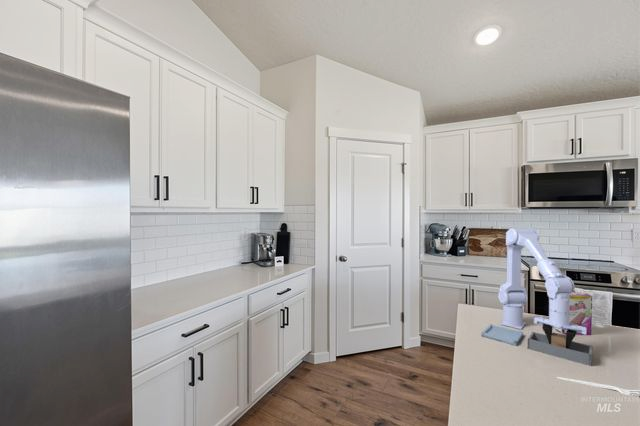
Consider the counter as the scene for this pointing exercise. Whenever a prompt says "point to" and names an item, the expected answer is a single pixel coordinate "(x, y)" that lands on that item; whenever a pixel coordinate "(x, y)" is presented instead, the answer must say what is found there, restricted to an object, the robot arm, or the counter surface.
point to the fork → (603, 386)
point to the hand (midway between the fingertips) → (559, 348)
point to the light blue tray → (502, 334)
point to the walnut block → (558, 340)
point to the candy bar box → (580, 311)
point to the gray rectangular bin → (561, 349)
